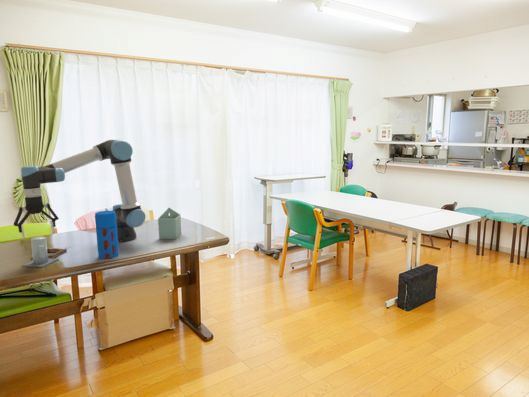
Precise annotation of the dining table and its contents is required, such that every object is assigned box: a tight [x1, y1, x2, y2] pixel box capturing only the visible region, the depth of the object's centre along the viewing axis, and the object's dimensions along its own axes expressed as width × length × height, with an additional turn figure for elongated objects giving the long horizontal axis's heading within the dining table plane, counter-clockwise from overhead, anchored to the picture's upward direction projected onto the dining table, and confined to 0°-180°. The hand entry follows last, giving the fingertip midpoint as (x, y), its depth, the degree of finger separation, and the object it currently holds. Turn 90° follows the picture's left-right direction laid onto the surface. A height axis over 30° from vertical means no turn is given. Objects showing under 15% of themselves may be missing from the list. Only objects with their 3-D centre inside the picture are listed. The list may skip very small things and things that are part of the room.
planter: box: [157, 207, 182, 240], centre depth 246 cm, size 16×8×20 cm, turn 133°
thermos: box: [94, 210, 120, 260], centre depth 210 cm, size 11×11×25 cm
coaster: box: [21, 258, 59, 268], centre depth 200 cm, size 12×12×1 cm
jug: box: [30, 236, 49, 264], centre depth 198 cm, size 13×7×13 cm, turn 40°
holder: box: [47, 247, 68, 259], centre depth 213 cm, size 12×12×2 cm
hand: (38, 235), depth 198 cm, fingers open, 13 cm apart
